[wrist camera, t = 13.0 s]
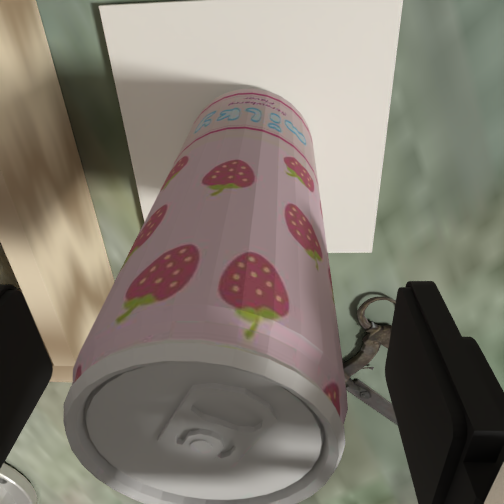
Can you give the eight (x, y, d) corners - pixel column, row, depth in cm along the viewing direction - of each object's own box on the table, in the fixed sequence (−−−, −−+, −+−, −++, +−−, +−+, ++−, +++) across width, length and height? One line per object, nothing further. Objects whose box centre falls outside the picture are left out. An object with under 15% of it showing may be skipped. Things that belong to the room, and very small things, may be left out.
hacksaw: (259, 321, 28) (257, 338, 27) (391, 221, 23) (396, 236, 22) (473, 478, 36) (480, 497, 35) (603, 427, 31) (616, 447, 30)
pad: (370, 247, 24) (371, 252, 23) (153, 248, 25) (150, 253, 24) (401, -11, 17) (404, -10, 17) (103, 4, 18) (98, 5, 18)
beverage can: (318, 88, 19) (384, 358, 6) (306, 205, 22) (334, 532, 10) (186, 83, 19) (7, 335, 7) (194, 200, 22) (83, 513, 10)
